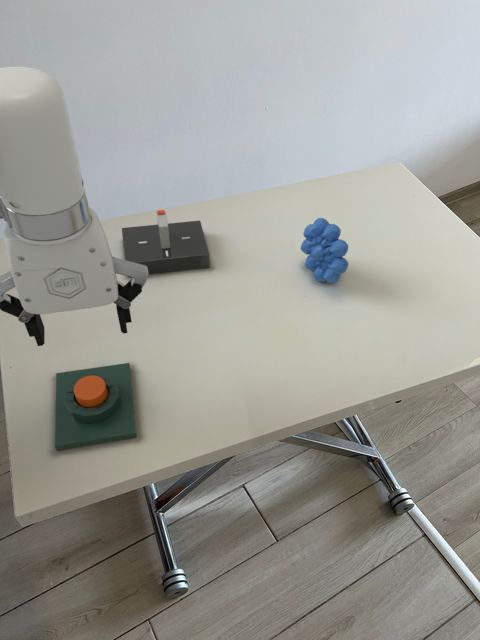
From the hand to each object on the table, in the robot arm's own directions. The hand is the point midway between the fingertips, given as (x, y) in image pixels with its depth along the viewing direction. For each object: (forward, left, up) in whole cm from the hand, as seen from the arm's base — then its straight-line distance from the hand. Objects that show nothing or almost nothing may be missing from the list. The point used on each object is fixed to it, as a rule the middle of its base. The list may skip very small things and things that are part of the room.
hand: (83, 331), depth 64 cm
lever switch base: (+12, +29, -12) cm, 33 cm away
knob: (+12, +29, -9) cm, 32 cm away
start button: (-1, -2, -10) cm, 10 cm away
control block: (-1, -2, -12) cm, 13 cm away
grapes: (+38, +18, -13) cm, 44 cm away
